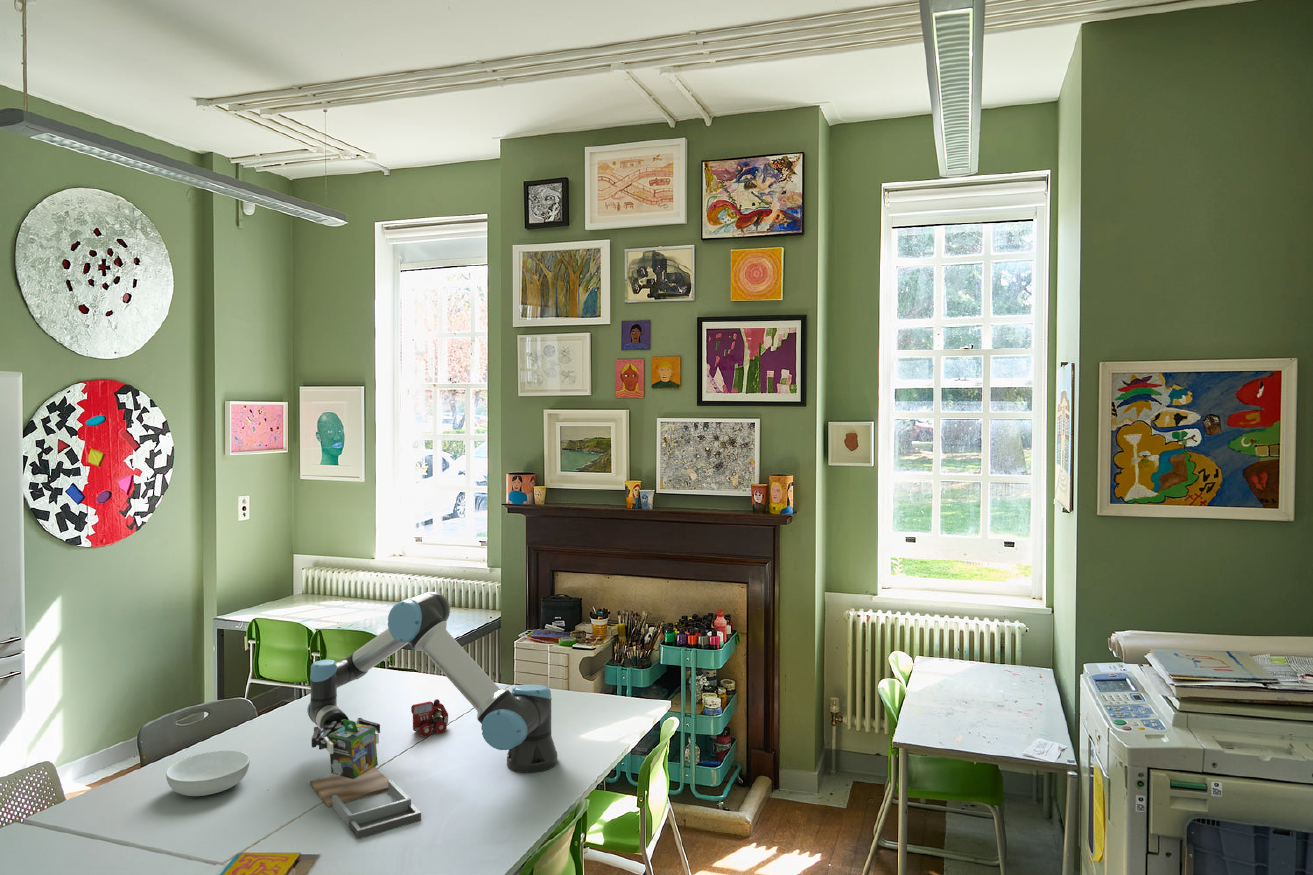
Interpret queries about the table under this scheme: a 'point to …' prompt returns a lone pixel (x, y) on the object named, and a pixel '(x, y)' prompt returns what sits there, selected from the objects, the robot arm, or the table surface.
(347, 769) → the chalk box
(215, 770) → the serving bowl
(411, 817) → the grey open tray
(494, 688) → the robot arm
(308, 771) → the table surface
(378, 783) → the wooden board
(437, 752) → the table surface
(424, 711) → the toy fire truck
